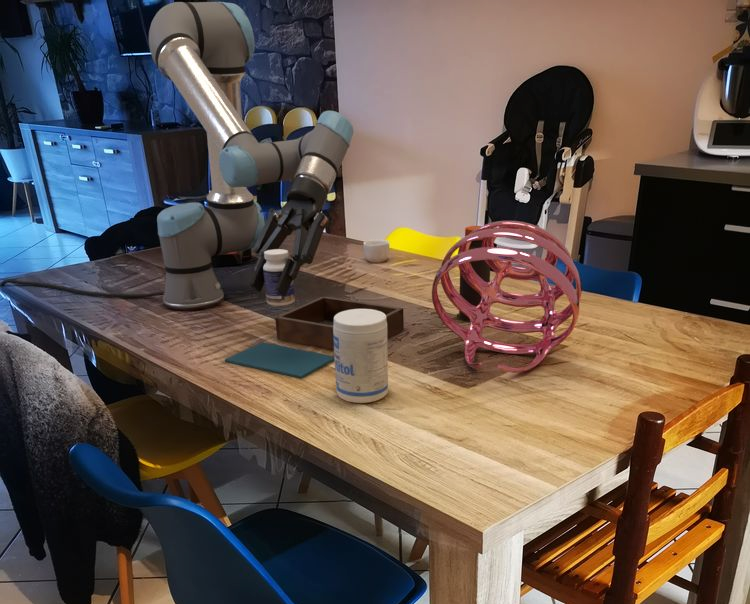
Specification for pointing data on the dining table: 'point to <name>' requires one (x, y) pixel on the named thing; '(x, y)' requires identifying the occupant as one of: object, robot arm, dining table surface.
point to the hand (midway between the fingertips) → (267, 290)
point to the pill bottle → (276, 277)
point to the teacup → (376, 250)
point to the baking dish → (230, 258)
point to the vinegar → (480, 269)
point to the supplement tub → (361, 355)
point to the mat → (281, 359)
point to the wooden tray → (304, 319)
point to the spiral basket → (492, 293)
